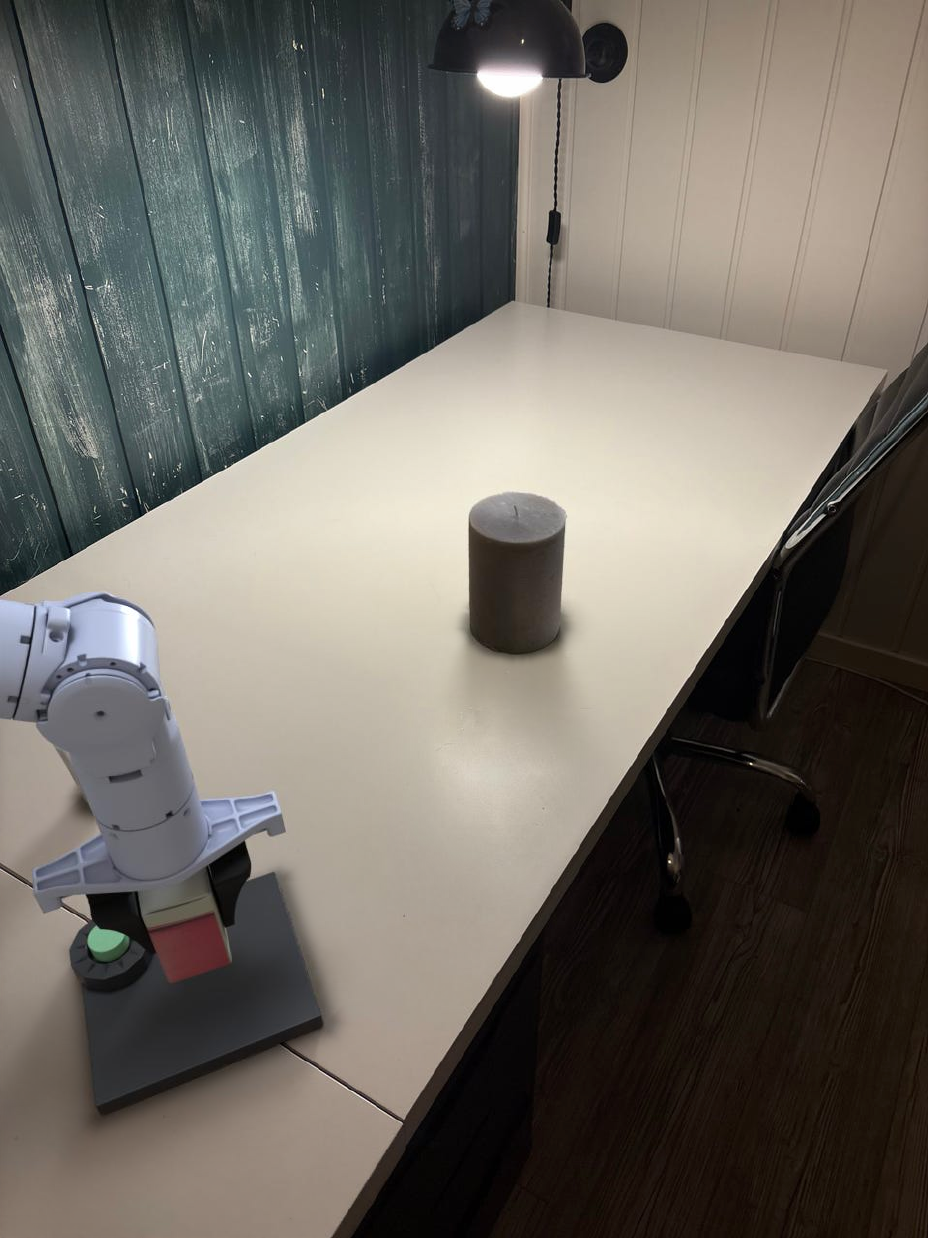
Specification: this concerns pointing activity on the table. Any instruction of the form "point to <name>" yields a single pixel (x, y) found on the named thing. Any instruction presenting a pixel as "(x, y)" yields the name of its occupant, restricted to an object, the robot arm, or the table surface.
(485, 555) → the pillar candle
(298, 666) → the table surface
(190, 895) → the small box
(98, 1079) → the scale
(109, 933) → the button
